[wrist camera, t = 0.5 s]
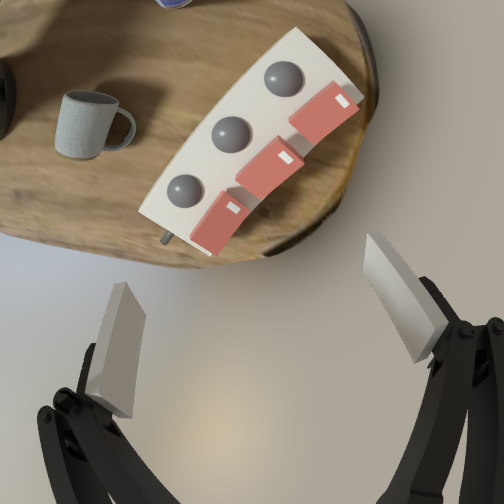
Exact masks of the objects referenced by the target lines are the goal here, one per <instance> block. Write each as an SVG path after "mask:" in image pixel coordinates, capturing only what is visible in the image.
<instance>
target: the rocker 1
mask: <svg viewBox="0 0 504 504" xmlns="http://www.w3.org/2000/svg"><path fill="white" fill-rule="evenodd" d="M249 213H250V210H249V209H248V208H247V207H246V206H244V205H243V204H242V203H240V202H239V201H238V200H236V199H235V198H233V197H232V196H231V195H229V194H228V193H226V192H225V191H224V190H222V191H221V192H220V194H219V195H218V196H217V198H216V199H215V200H214V202H213V203H212V204H211V206H210V207H209V208H208V210H207V211H206V213H205V214H204V215H203V217H202V218H201V220H200V221H199V222H198V224H197V225H196V227H195V228H194V229H193V231H192V232H191V234H190V235H189V236H190V240H191V241H193V242H195V243H196V244H198V245H199V246H201V247H203V248H204V249H206V250H208V251H209V252H211V253H212V254H214V255H216V256H217V255H218V254H219V252H220V251H221V250H222V248H223V247H224V246H225V244H226V243H227V242H228V240H229V239H230V238H231V236H232V235H233V234H234V232H235V231H236V230H237V228H238V227H239V226H240V224H241V223H242V222H243V220H244V219H245V218H246V217H247V215H248V214H249Z"/></svg>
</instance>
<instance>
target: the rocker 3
mask: <svg viewBox="0 0 504 504" xmlns="http://www.w3.org/2000/svg"><path fill="white" fill-rule="evenodd" d="M358 110H360V109H359V108H358V107H357V105H356V104H355V103H354V102H353V101H352V100H351V98H350V97H349V96H348V95H347V94H346V93H345V92H344V91H343V90H342V88H341V87H340V86H339V85H338V84H337V83H336V82H335V81H334V80H333V81H331V82H330V83H329V84H328V85H326V86H325V87H324V88H323V89H322V90H320V91H319V92H318V93H317V94H316V95H314V96H313V97H312V98H311V99H310V100H308V101H307V102H306V103H305V104H304V105H303V106H301V107H300V108H299V109H298V110H297V111H296V112H294V113H293V114H292V115H291V116H290V117H289V118H288V120H289V123H290V124H291V125H292V126H293V127H294V128H295V129H297V130H298V131H299V132H300V133H301V134H302V135H303V136H304V137H305V138H306V139H307V140H308V141H309V142H310V143H311V144H312V145H313V146H314V145H315V144H317V143H318V142H319V141H320V140H321V139H323V138H324V137H325V136H326V135H328V134H329V133H330V132H331V131H333V130H334V129H335V128H336V127H338V126H339V125H340V124H342V123H343V122H344V121H345V120H347V119H348V118H349V117H350V116H352V115H353V114H354V113H356V112H357V111H358Z"/></svg>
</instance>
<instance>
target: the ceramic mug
mask: <svg viewBox="0 0 504 504" xmlns="http://www.w3.org/2000/svg"><path fill="white" fill-rule="evenodd" d="M118 106H119V101H118V100H117V99H116V98H114V97H113V96H110V95H107V94H104V93H100V92H95V91H89V90H75V91H74V90H73V91H69V92H67V93H65V95H64V97H63V100H62V105H61V110H60V114H59V119H58V125H57V130H56V135H55V150H56V152H57V153H58V154H59V156H61V157H62V158H64V159H67V160H71V161H89V160H92V159H94V158H96V157H97V156H98V155H99V154H100V153H101V151H102V150H105V151H118V150H121V149H123V148H124V147H126V146H127V145H128V144H129V143H130V142H131V141H132V139H133V137H134V135H135V132H136V123H135V120H134V118H133V116H132V115H131V114H130V113H129V112H128V111H126V110H124V109H122V108H120V107H118ZM117 112H120V113H122V114H123V115H125V116H126V117H128V118H129V120H130V122H131V124H132V127H131V128H130V131H129V133H128V135H127V136H126V137H125V138H124V142H122V143H120V144H118V145H105V141H106V138H107V135H108V132H109V129H110V127H111V124H112V122H113V119H114V117H115V114H116V113H117Z"/></svg>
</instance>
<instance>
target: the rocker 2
mask: <svg viewBox="0 0 504 504" xmlns="http://www.w3.org/2000/svg"><path fill="white" fill-rule="evenodd" d="M304 164H305V163H304V158H303V157H302V156H301V155H300V154H299V153H298V152H297V151H296V150H295V149H294V148H293V147H292V146H290V145H289V144H288V143H287V142H286V141H285V140H284V139H283V138H281V137H280V136H279V135H277V136H276V137H275V138H274V139H273V140H272V141H271V142H269V143H268V144H267V145H266V146H265V147H264V148H263V149H262V150H261V151H260V152H259V153H258V154H256V155H255V156H254V157H253V158H252V159H251V160H250V161H249V162H248V163H247V164H246V165H245V166H244V167H243V168H242V169H241V170H240V171H239V172H238V173H237V174H236V178H235V181H236V182H238V183H239V184H240V185H242V186H243V187H244V188H246V189H247V190H248V191H250V192H251V193H252V194H253V195H255V196H256V197H257V198H259V199H260V200H262V199H263V198H264V197H265V196H267V195H268V194H269V193H270V192H271V191H272V190H274V189H275V188H276V187H277V186H279V185H280V184H281V183H282V182H283V181H285V180H286V179H287V178H288V177H289V176H291V175H292V174H293V173H294V172H296V171H297V170H298V169H299V168H300V167H302V166H303V165H304Z"/></svg>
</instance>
